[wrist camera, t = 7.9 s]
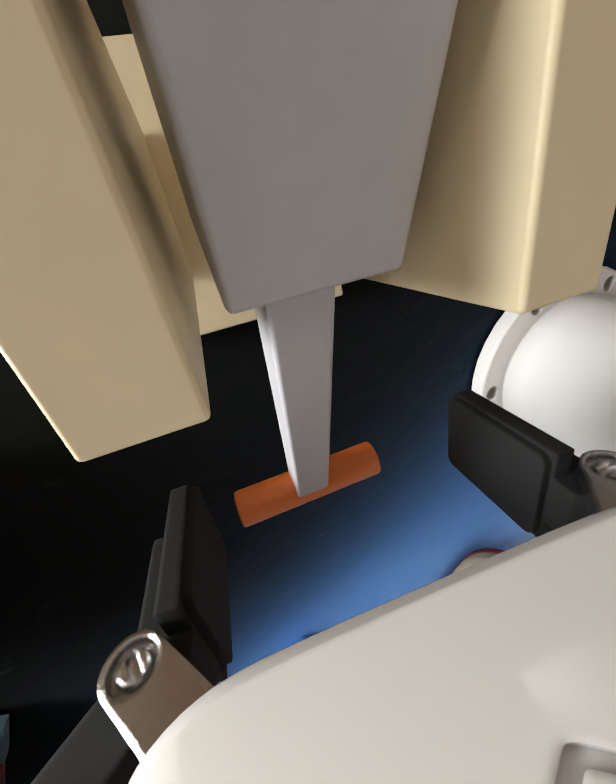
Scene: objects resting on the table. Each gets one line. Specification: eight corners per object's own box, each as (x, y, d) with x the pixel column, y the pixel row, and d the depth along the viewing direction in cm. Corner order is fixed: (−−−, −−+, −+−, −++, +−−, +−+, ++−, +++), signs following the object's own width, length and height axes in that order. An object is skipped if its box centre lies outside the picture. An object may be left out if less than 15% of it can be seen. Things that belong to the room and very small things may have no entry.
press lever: (356, 437, 13) (387, 492, 12) (234, 484, 12) (251, 550, 11) (451, -127, 3) (690, -190, 2) (-117, -119, 2) (-398, -239, 1)
